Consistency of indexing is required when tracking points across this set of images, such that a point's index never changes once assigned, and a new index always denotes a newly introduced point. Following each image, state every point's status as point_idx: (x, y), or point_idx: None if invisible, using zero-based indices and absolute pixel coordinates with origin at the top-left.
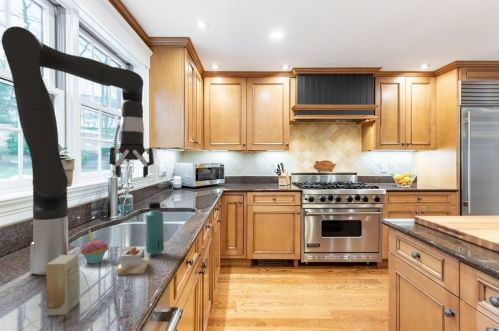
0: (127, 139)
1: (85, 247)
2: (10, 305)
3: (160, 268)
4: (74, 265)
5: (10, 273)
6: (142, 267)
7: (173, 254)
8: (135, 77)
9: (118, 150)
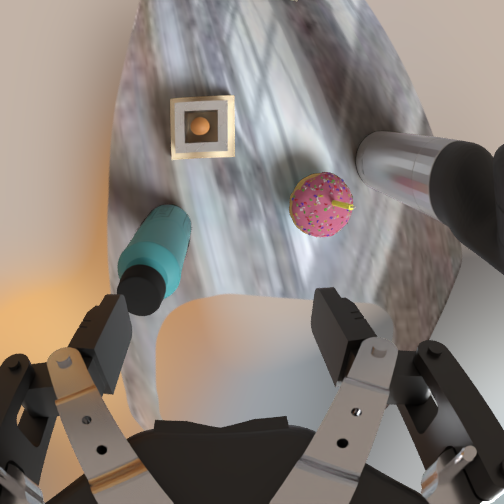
0: None
1: (341, 185)
2: (372, 19)
3: (138, 126)
4: None
5: None
6: (173, 98)
7: (125, 223)
8: None
9: (429, 500)
